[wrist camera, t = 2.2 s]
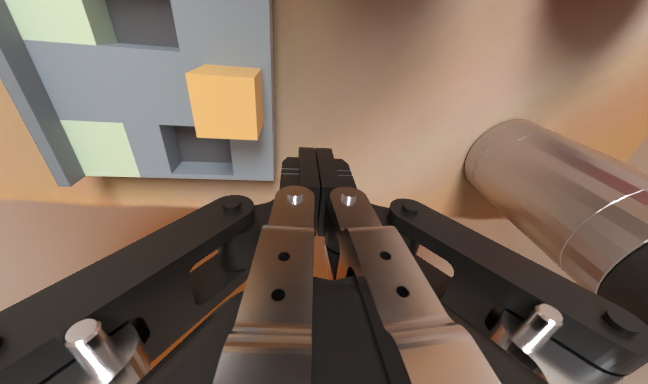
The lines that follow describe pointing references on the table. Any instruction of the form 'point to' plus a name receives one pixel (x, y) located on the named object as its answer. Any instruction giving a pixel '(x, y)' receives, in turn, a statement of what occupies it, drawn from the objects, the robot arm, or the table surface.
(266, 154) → the board
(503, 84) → the table surface
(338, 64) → the table surface
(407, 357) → the robot arm
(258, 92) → the block
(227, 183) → the table surface
